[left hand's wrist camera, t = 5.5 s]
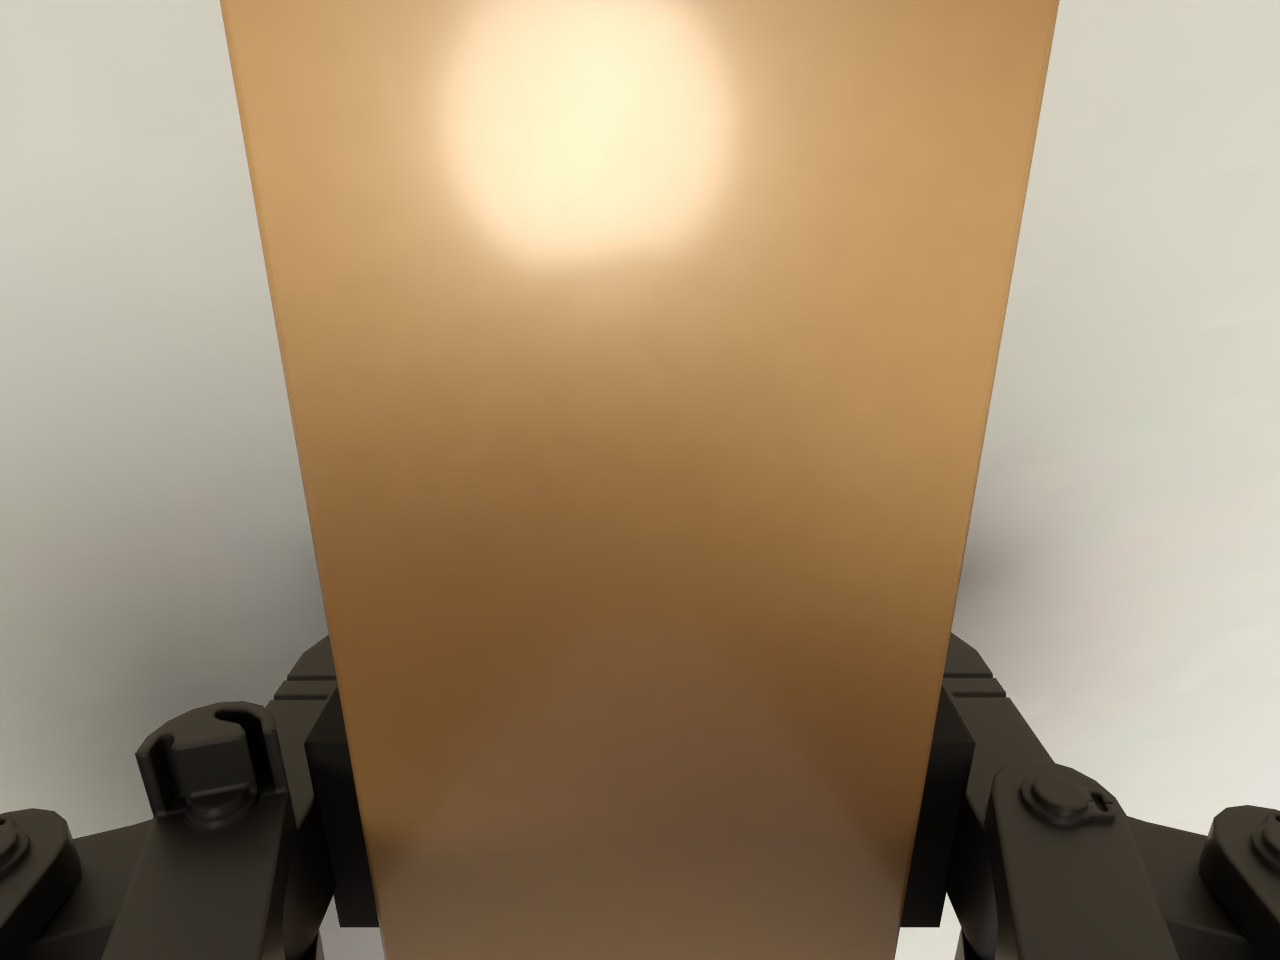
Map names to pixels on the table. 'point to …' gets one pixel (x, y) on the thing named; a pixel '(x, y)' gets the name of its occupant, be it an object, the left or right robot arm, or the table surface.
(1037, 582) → the table surface
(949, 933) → the table surface
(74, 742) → the table surface
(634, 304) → the bar
